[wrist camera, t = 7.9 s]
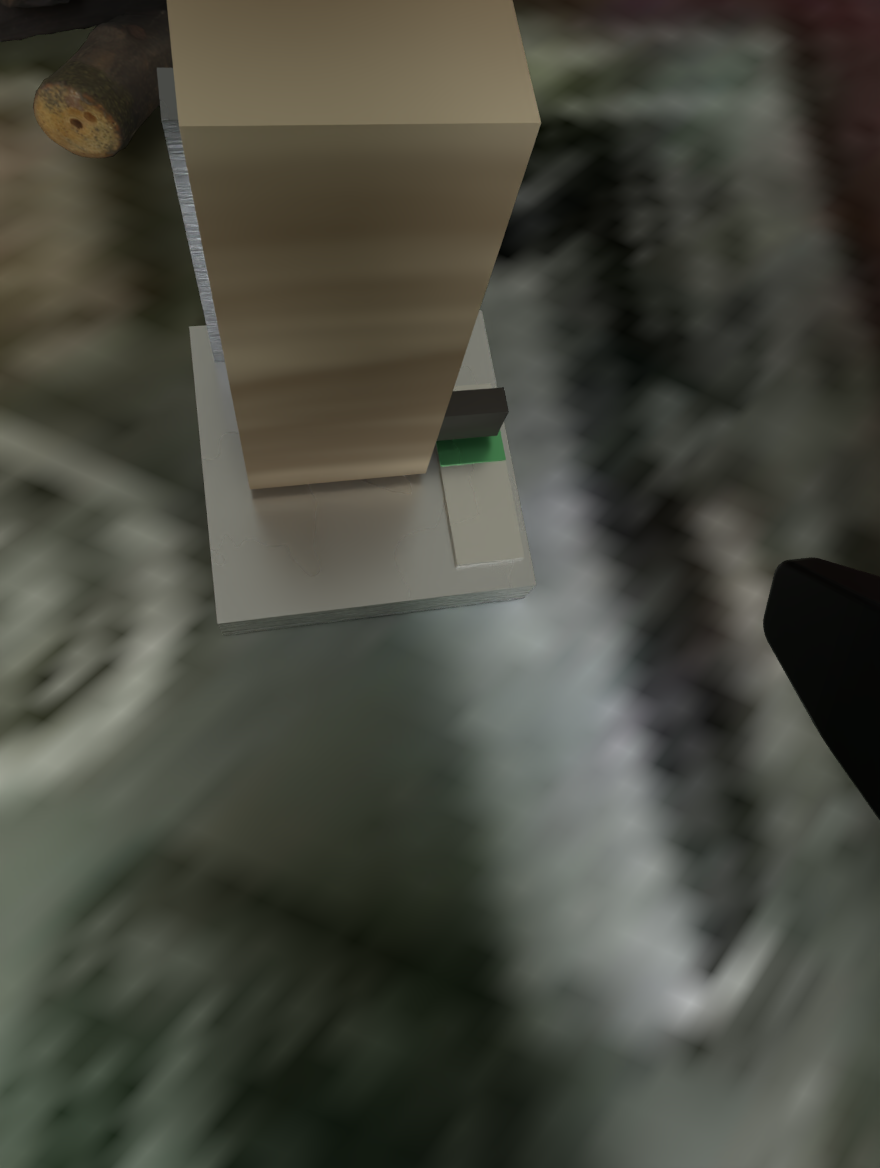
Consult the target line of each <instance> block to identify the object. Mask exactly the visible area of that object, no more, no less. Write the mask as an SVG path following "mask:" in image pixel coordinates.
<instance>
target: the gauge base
mask: <svg viewBox="0 0 880 1168" xmlns="http://www.w3.org/2000/svg"><path fill="white" fill-rule="evenodd" d="M157 77H158V88H159V99H160V110H161V120H162V125H163V129H164V134H165V138H166V143H167V147H168V152H169V157H170V161H171V166H172V170H173V175H174V179H175V184H176V189H177V193H178V198H179V202H180V207H181V211H182V216H183V221H184V225H185V230H186V234H187V239H188V243H189V248H190V252H191V257H192V262H193V266H194V271H195V275H196V280H197V284H198V289H199V294H200V298H201V303H202V307H203V312H204V316H205V321H206V325H205V326H189V330H190V341H191V351H192V362H193V373H194V383H195V394H196V404H197V415H198V425H199V436H200V446H201V457H202V467H203V478H204V488H205V499H206V509H207V520H208V530H209V541H210V551H211V562H212V572H213V583H214V594H215V604H216V615H217V624H218V626H219V628H220V630H221V632H222V634H223V635H231V634H240V633H248V632H256V631H264V630H272V629H280V628H288V627H296V626H304V625H312V624H320V623H328V622H336V621H344V620H352V619H360V618H368V617H377V616H385V615H393V614H401V613H409V612H417V611H425V610H433V609H441V608H449V607H457V606H465V605H473V604H481V603H489V602H497V601H505V600H514V599H522V598H524V597H525V596H526V595H527V594H528V593H529V592H530V591H531V590H532V589H533V588H534V587H535V586H536V580H535V575H534V570H533V565H532V560H531V555H530V550H529V545H528V540H527V535H526V530H525V525H524V520H523V515H522V510H521V505H520V500H519V495H518V490H517V485H516V480H515V475H514V470H513V464H512V459H511V454H510V449H509V444H508V439H507V434H506V429H505V424H504V422H503V424H502V426H501V428H500V430H499V432H498V435H497V436H488V437H476V438H464V439H452V440H440V441H436V444H435V447H434V450H433V453H432V456H431V459H430V462H429V465H428V468H427V471H426V473H424V474H413V475H402V476H391V477H380V478H370V479H359V480H348V481H337V482H326V483H315V484H304V485H294V486H283V487H272V488H261V489H250V487H249V482H248V477H247V472H246V467H245V461H244V456H243V451H242V446H241V441H240V436H239V431H238V426H237V421H236V415H235V410H234V405H233V400H232V395H231V390H230V385H229V380H228V375H227V369H226V364H225V359H224V354H223V349H222V344H221V339H220V334H219V329H218V323H217V318H216V313H215V308H214V303H213V298H212V293H211V288H210V283H209V278H208V272H207V267H206V262H205V257H204V252H203V247H202V242H201V237H200V232H199V226H198V221H197V216H196V211H195V206H194V201H193V196H192V191H191V186H190V180H189V175H188V170H187V165H186V160H185V155H184V150H183V145H182V140H181V134H180V129H179V122H178V112H177V102H176V92H175V81H174V71H173V68H157ZM489 388H497V384H496V379H495V374H494V369H493V364H492V359H491V353H490V348H489V343H488V338H487V333H486V328H485V323H484V318H483V313H482V310H480V311H479V313H478V316H477V319H476V322H475V325H474V328H473V331H472V334H471V337H470V340H469V343H468V346H467V349H466V352H465V356H464V359H463V362H462V365H461V368H460V371H459V374H458V377H457V380H456V383H455V386H454V389H453V391H461V390H475V389H489Z"/></svg>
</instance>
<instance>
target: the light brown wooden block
mask: <svg viewBox="0 0 880 1168" xmlns="http://www.w3.org/2000/svg"><path fill="white" fill-rule="evenodd" d="M167 10H168V20H169V31H170V41H171V51H172V61H173V71H174V81H175V92H176V102H177V112H178V122H179V129H180V134H181V140H182V145H183V150H184V155H185V160H186V165H187V170H188V175H189V180H190V186H191V191H192V196H193V201H194V206H195V211H196V216H197V221H198V226H199V232H200V237H201V242H202V247H203V252H204V257H205V262H206V267H207V272H208V278H209V283H210V288H211V293H212V298H213V303H214V308H215V313H216V318H217V323H218V329H219V334H220V339H221V344H222V349H223V354H224V359H225V364H226V369H227V375H228V380H229V385H230V390H231V395H232V400H233V405H234V410H235V415H236V421H237V426H238V431H239V436H240V441H241V446H242V451H243V456H244V461H245V467H246V472H247V477H248V482H249V487H250V489H261V488H272V487H283V486H294V485H304V484H315V483H326V482H337V481H348V480H359V479H370V478H380V477H391V476H402V475H413V474H424V473H426V471H427V468H428V465H429V462H430V459H431V456H432V453H433V450H434V447H435V444H436V441H440V440H452V439H464V438H476V437H488V436H497V435H498V432H499V430H500V428H501V426H502V424H503V422H504V420H505V418H506V416H507V414H508V412H509V411H508V406H507V401H506V396H505V391H504V387H502V388H489V389H475V390H461V391H453V389H454V386H455V383H456V380H457V377H458V374H459V371H460V368H461V365H462V362H463V359H464V356H465V352H466V349H467V346H468V343H469V340H470V337H471V334H472V331H473V328H474V325H475V322H476V319H477V316H478V313H479V310H480V307H481V304H482V301H483V298H484V295H485V292H486V289H487V286H488V283H489V280H490V277H491V273H492V270H493V267H494V264H495V261H496V258H497V255H498V252H499V249H500V246H501V243H502V240H503V237H504V234H505V231H506V228H507V225H508V222H509V219H510V216H511V213H512V210H513V207H514V204H515V201H516V197H517V194H518V191H519V188H520V185H521V182H522V179H523V176H524V173H525V170H526V167H527V164H528V161H529V158H530V155H531V152H532V149H533V146H534V143H535V140H536V137H537V134H538V131H539V128H540V125H541V120H540V116H539V112H538V107H537V103H536V99H535V95H534V90H533V86H532V82H531V78H530V73H529V69H528V65H527V61H526V56H525V52H524V48H523V43H522V39H521V35H520V31H519V26H518V22H517V18H516V14H515V9H514V5H513V1H512V0H167Z"/></svg>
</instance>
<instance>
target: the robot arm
mask: <svg viewBox="0 0 880 1168" xmlns="http://www.w3.org/2000/svg"><path fill="white" fill-rule="evenodd" d="M763 627H764V633H765V636H766V639H767V641H768V643H769V645H770V646H771V648H772V650H773V652H774V654H775V655H776V657H777V659H778V661H779V662H780V664H781V666H782V668H783V670H784V671H785V673H786V675H787V677H788V679H789V680H790V682H791V684H792V686H793V687H794V689H795V691H796V693H797V695H798V696H799V698H800V700H801V702H802V704H803V705H804V707H805V709H806V711H807V713H808V714H809V716H810V718H811V720H812V721H813V723H814V725H815V726H816V728H817V730H818V732H819V733H820V735H821V737H822V738H823V740H824V741H825V743H826V744H827V746H828V747H829V749H830V750H831V752H832V753H833V755H834V756H835V758H836V759H837V760H838V762H839V763H840V765H841V766H842V767H843V769H844V770H845V772H846V773H847V775H848V776H849V777H850V779H851V780H852V782H853V783H854V785H855V786H856V787H857V789H858V790H859V792H860V793H861V794H862V796H863V797H864V799H865V800H866V802H867V803H868V804H869V806H870V807H871V809H872V810H873V811H874V813H875V814H876V816H877V817H878V819H879V820H880V577H879V576H876V575H872V574H869V573H866V572H862V571H859V570H856V569H852V568H849V567H846V566H842V565H839V564H836V563H832V562H829V561H826V560H822V559H819V558H801V559H793V560H786V561H784V562H782V563H781V564H780V565H779V566H778V567H777V569H776V571H775V573H774V577H773V581H772V585H771V590H770V594H769V598H768V602H767V606H766V610H765V614H764V620H763Z"/></svg>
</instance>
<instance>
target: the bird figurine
mask: <svg viewBox="0 0 880 1168" xmlns="http://www.w3.org/2000/svg"><path fill="white" fill-rule="evenodd" d="M97 25H98V26H97ZM92 26H96V27H95V28H94V29H93V31H92V32H91V33H90V34H89V36H88V38H87V40H86V41H85V43H84V44H83V45H82V47H81V48H80V49H79V50H78V51H77V52H76V54H74V55H73V56H72V57H71V58H70V59H69V60H68V61H67V62H66V63H65V64H64V65H63V66H62V67H60V68H59V69H58V70H57V71H56V72H54V73H53V74H52V75H51V76H49V77H48V78H46V79H44V81H43V82H42V84H41V85H40V87H39V88H38V90H37V91H36V94H35V98H34V104H33V108H34V114H35V117H36V120H37V122H38V124H39V125H40V127H41V128H42V130H43V131H44V132H45V133H46V135H47V136H48V137H49V138H50V139H52V140H53V141H54V142H56V143H57V144H59V145H60V146H62V147H63V148H65V149H67V150H68V151H70V152H72V153H73V154H76V155H79V156H81V157H88V158H107V157H112V156H114V155H115V154H116V153H117V152H118V151H120V150H121V149H125V148H126V147H127V145H128V143H129V141H130V140H131V138H132V137H133V135H134V134H135V132H136V131H137V129H138V128H139V127H140V126H141V125H142V123H143V122H144V121H145V120H146V119H147V118H148V117H149V116H150V115H151V114H152V112H153V111H154V110H155V109H156V108H157V107H158V106H159V105H160V99H159V88H158V77H157V68H173V61H172V51H171V41H170V31H169V20H168V10H167V0H0V42H3V41H10V40H22V39H25V38H28V37H32V36H35V35H43V34H53V33H56V32H61V31H68V30H73V29H86V28H89V27H92Z"/></svg>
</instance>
